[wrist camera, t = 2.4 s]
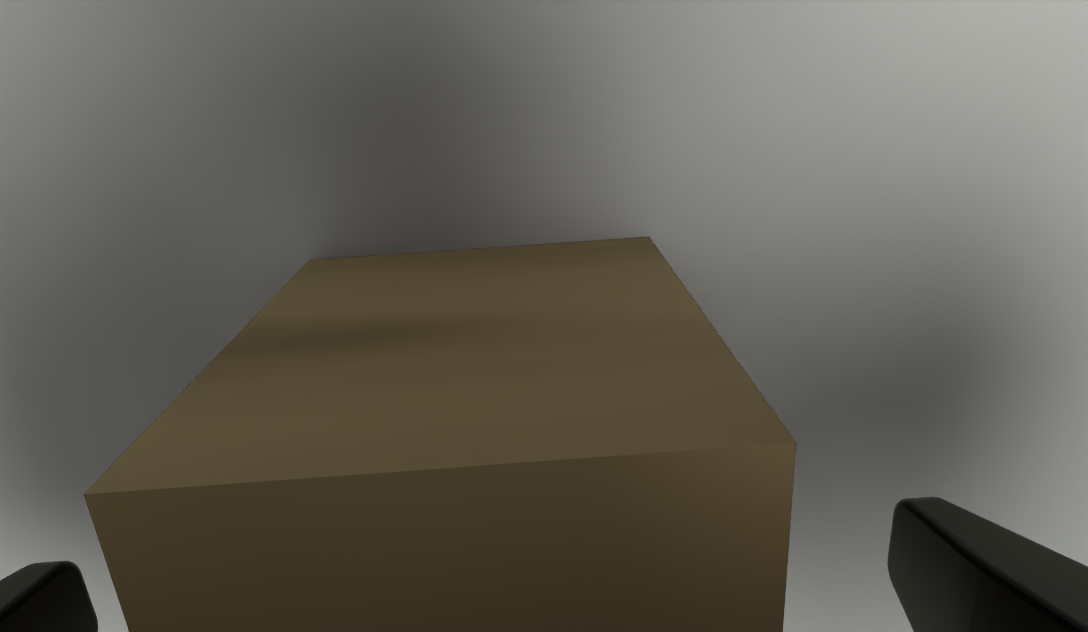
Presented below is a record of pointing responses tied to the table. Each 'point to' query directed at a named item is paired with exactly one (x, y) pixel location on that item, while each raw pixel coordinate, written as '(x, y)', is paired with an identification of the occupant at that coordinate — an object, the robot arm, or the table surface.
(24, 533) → the table surface
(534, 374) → the walnut block
